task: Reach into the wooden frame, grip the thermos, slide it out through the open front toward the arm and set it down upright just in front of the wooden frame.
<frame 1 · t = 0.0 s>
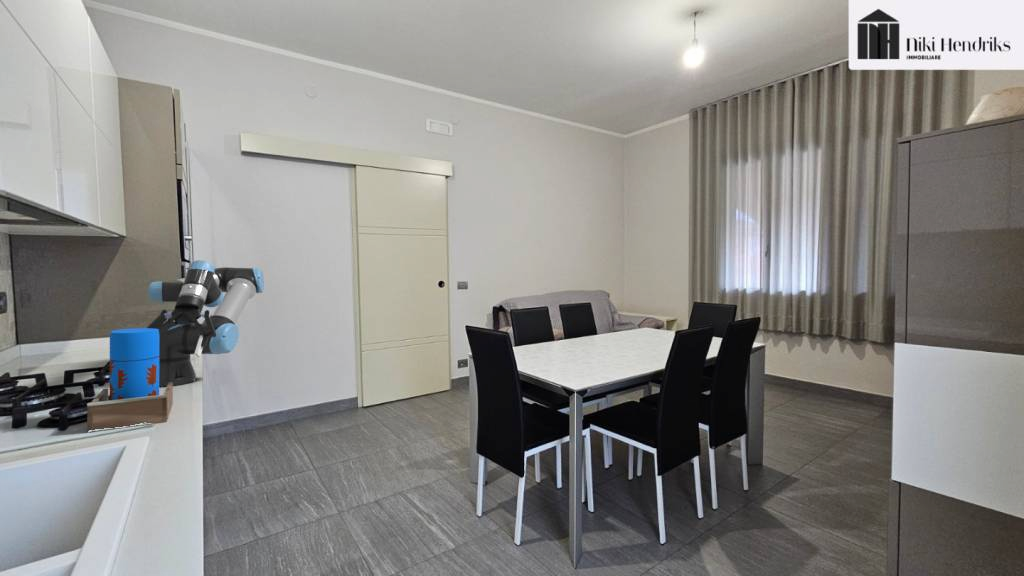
hand: (172, 355, 134), 15 cm above the counter, tool tilted 35°, fingers open, 13 cm apart
thermos: (135, 416, 123), on the counter
wooden frame: (135, 415, 123), on the counter
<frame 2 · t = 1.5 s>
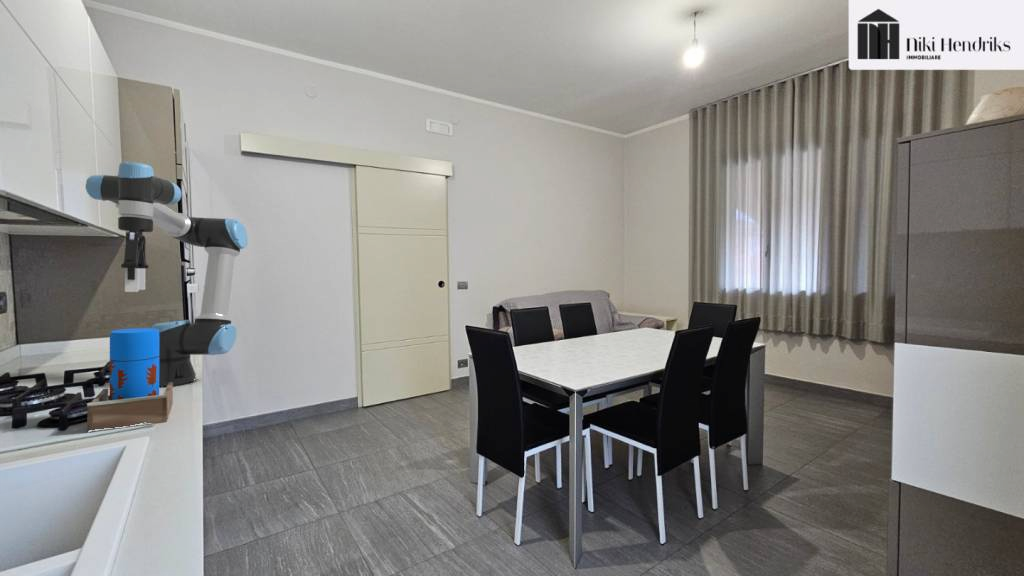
hand: (135, 290, 122), 37 cm above the counter, tool pointing down, fingers open, 13 cm apart
nothing on the counter moved.
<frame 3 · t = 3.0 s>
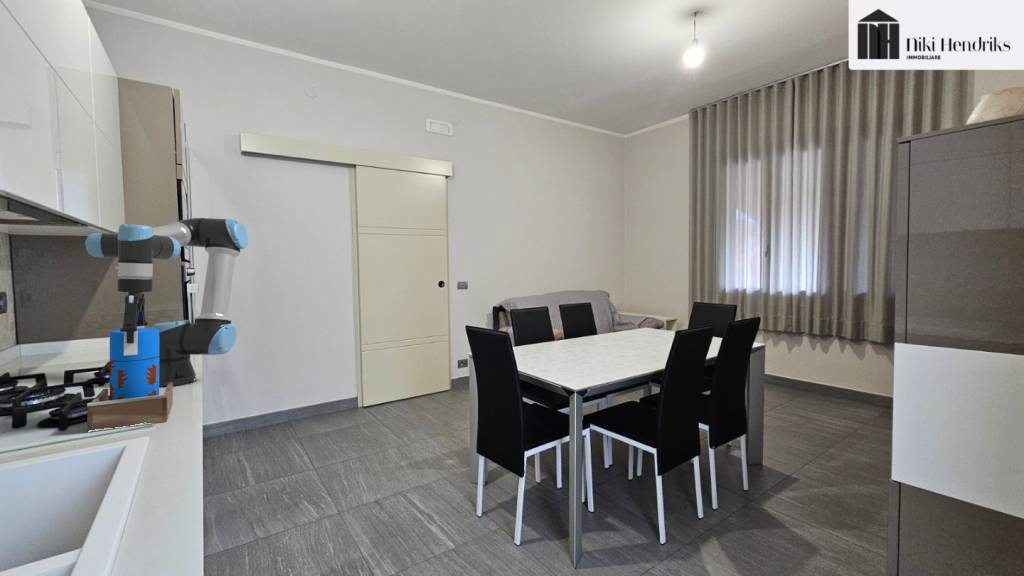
hand: (134, 351, 122), 19 cm above the counter, tool pointing down, fingers open, 13 cm apart
nothing on the counter moved.
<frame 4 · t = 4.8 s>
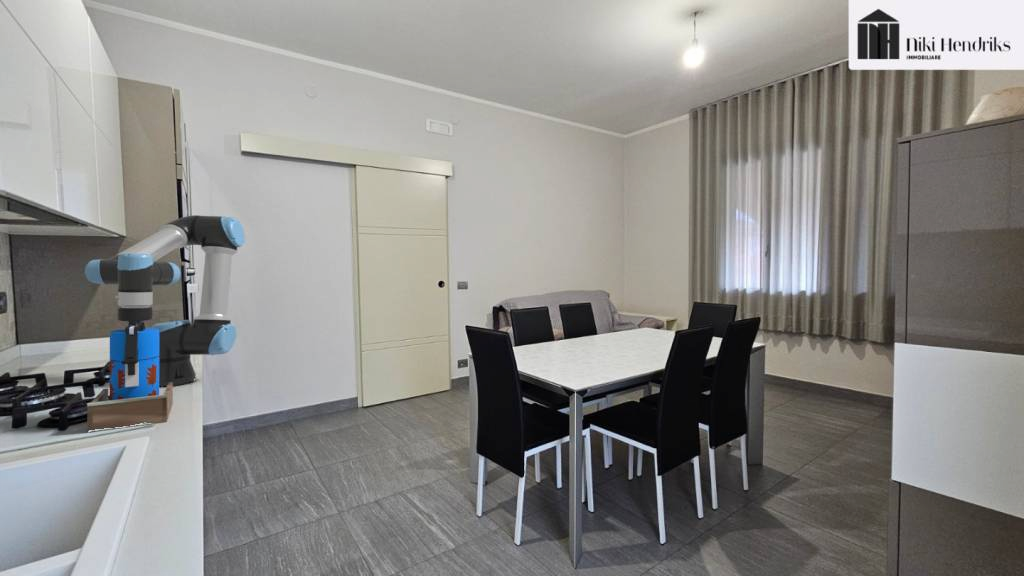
hand: (135, 381, 123), 10 cm above the counter, tool pointing down, fingers closed on thermos, 11 cm apart
thermos: (135, 416, 123), on the counter, touching gripper
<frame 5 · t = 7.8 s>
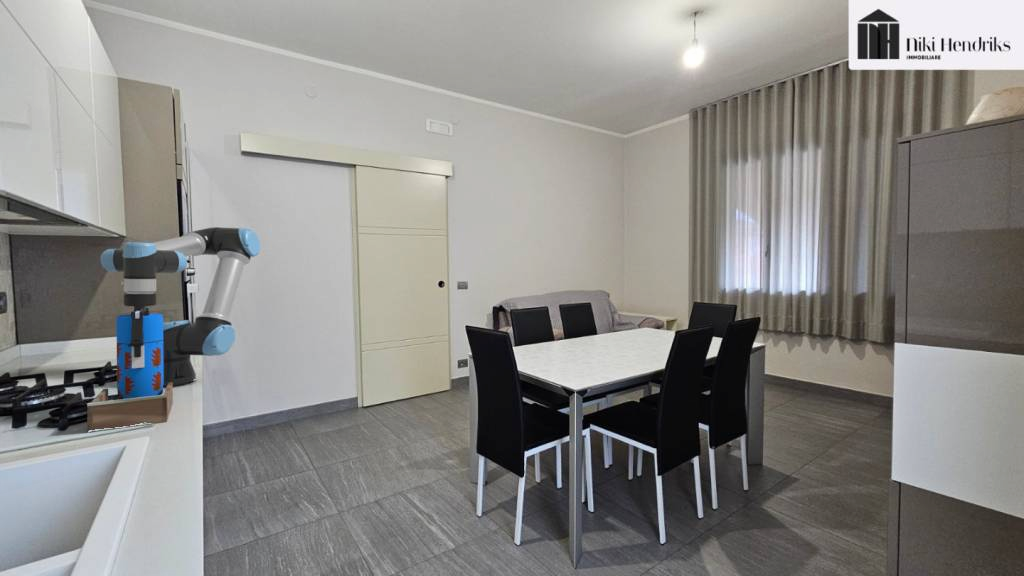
hand: (140, 363, 130), 14 cm above the counter, tool pointing down, fingers closed on thermos, 11 cm apart
thermos: (141, 396, 130), point 3 cm above the counter, touching gripper
when the fingers open (11 cm above the counter, at t = 10.9 s): thermos stays where it is, on the counter.
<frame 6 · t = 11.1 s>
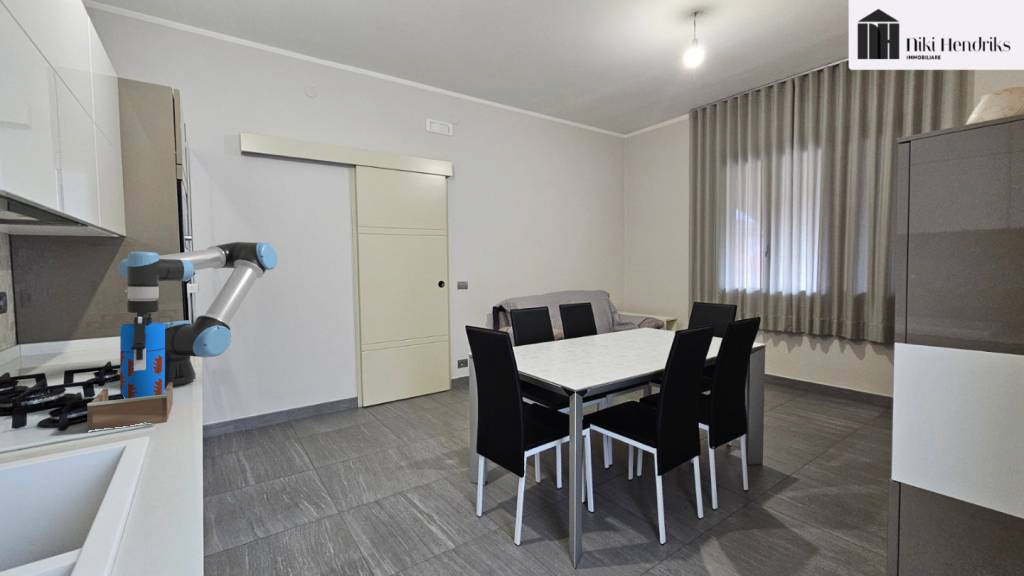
hand: (143, 366, 135), 12 cm above the counter, tool pointing down, fingers open, 13 cm apart
thermos: (143, 402, 136), on the counter
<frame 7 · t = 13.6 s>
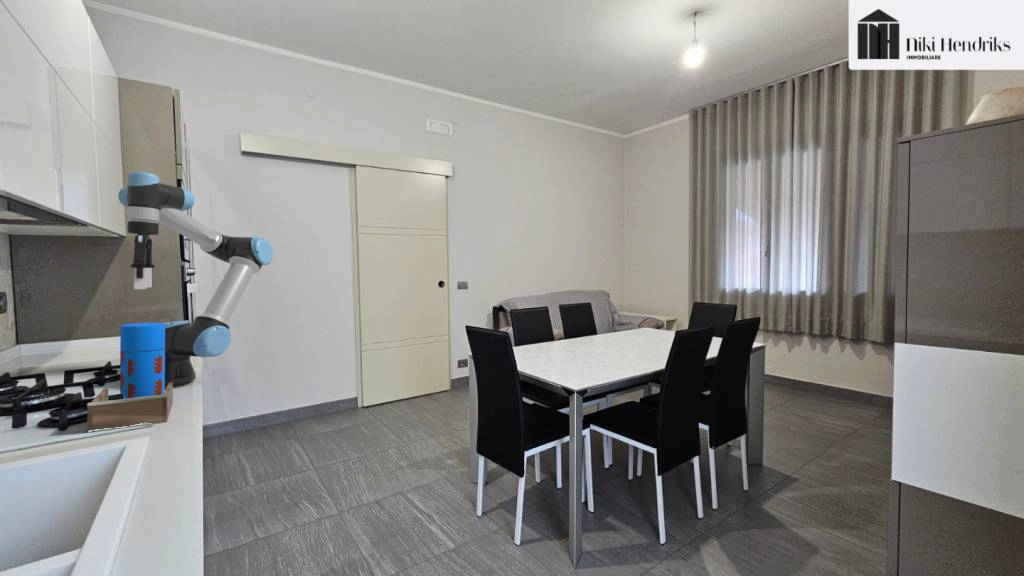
hand: (143, 288, 134), 37 cm above the counter, tool pointing down, fingers open, 13 cm apart
nothing on the counter moved.
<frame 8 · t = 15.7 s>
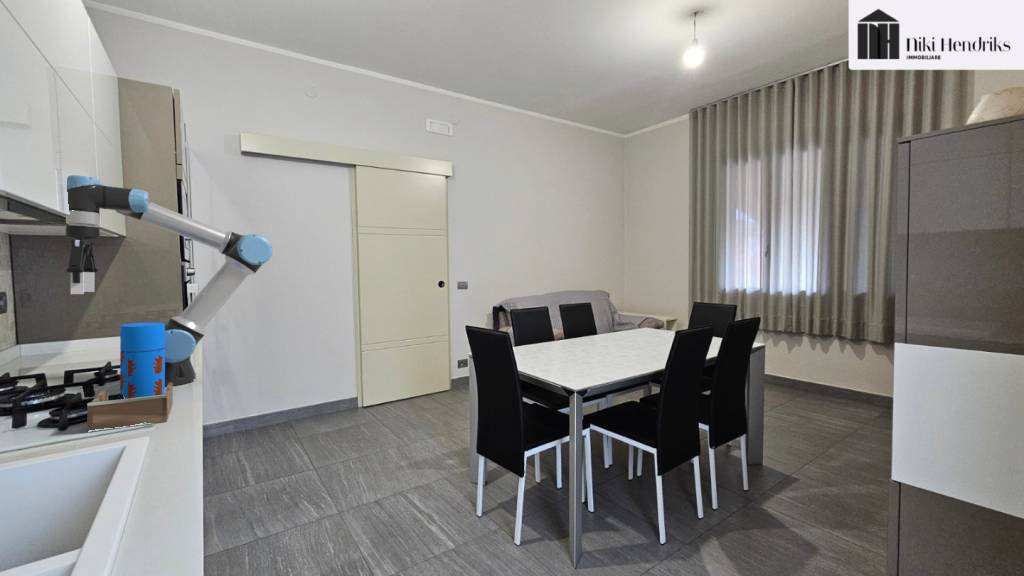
hand: (83, 293, 133), 35 cm above the counter, tool pointing down, fingers open, 13 cm apart
nothing on the counter moved.
at the end: thermos inside the target area on the counter beside the wooden frame (1.4 cm from its centre), on the counter; thermos tilted 0°; thermos touching counter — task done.
